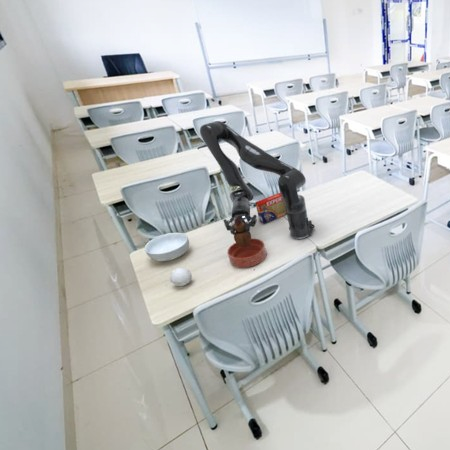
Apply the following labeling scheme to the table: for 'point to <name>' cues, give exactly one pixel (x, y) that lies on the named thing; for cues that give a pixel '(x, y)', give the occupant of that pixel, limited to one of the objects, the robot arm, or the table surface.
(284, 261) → the table surface
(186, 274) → the white oval solid
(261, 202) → the toy box
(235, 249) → the bowl
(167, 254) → the cereal bowl
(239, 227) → the wooden figurine
